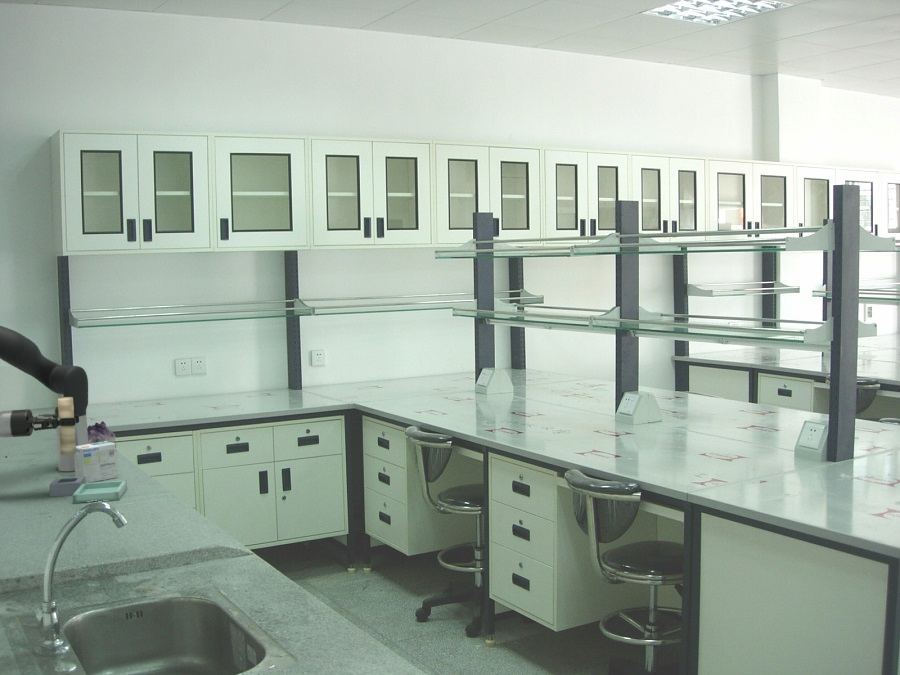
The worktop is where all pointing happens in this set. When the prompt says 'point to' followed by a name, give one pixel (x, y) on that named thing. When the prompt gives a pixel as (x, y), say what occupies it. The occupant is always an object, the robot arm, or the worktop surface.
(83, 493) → the tray
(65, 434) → the dowel
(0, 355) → the robot arm
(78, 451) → the light bulb box
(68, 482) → the socket block
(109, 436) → the geode
